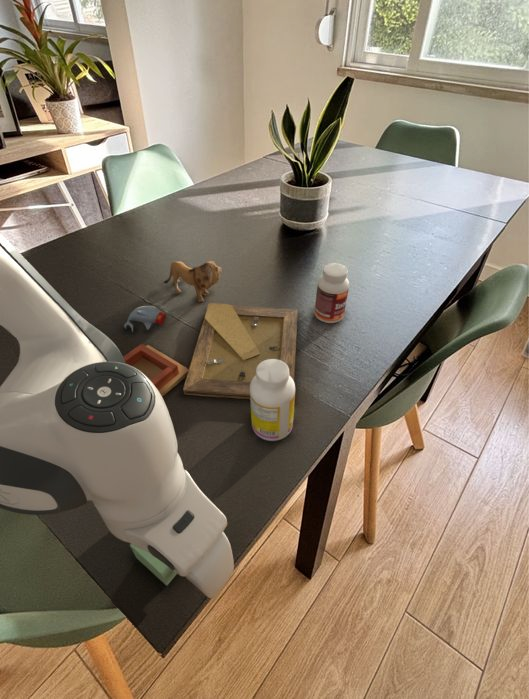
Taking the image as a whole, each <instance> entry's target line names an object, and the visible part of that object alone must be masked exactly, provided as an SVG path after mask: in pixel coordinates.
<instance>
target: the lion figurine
mask: <svg viewBox="0 0 529 699" xmlns="http://www.w3.org/2000/svg"><path fill="white" fill-rule="evenodd" d="M221 273H222V267H220V266H218V265H217V264H216V263H215V261H214V260H213V261H212V260H209V261H206V262H204V263H202V264H201V265H198V266H195V267H193V268H192V267H190V266H187V265H186V264H185V263H184V262H183V261H180V260H179V261H172V263H171V265H170V270H169V276H168V278H167V279H166V280H164V281H163V284H168V283H169V282H170V281H171V280H172V278H173V287H174V291H175V292H174V293H176V295H180V294H181V293H182V290H181V289H180V288H179V285H178V284H180V283H181V280H182V281H183V282H184V283H186V284H187V285H190V286H192V287H194V290H195V294H196V298H197V301H198V302H199V303H203V302H204V301H205V298H203V296H208V295H209V291H208V290H209V289H211V287H212V286H214V285H215V284H217V283H218V282H219V280H220V278H221V276H220V274H221ZM179 278H181V280H180V279H179Z"/></svg>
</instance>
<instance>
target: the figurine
mask: <svg viewBox="0 0 529 699" xmlns="http://www.w3.org/2000/svg"><path fill="white" fill-rule="evenodd" d="M128 315H129V316H128V318H127V321H126V322H125V323H124V325H123V328H125V329H127V326H129V327H130V328H131V329H130V330H131V332H132V333H133V332H134V325H133V323H131V322H130V321H136V322H139V323H143V325H144V326H145V328H146V331H148V330H150V328H151V326H152V324H158V325H160V326H162V325H163V324H164V322H165V320H166V318H167V314H166V313H164V312H162V311H161V310H160V309H159V307H157V306H154V305H142V306H138V307H136V308H135V309H133V310H132V311H131V312H130V313H129V314H128Z"/></svg>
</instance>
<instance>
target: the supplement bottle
mask: <svg viewBox="0 0 529 699" xmlns="http://www.w3.org/2000/svg"><path fill="white" fill-rule="evenodd" d="M295 399H296V383H295V380H294V381H293V379H292V378H291V377H290V376H289V368H288V366H287V365H286V364H285V363H284V362H282V361H280V360H277V359H268V360H265V361H263V362H261V363H260V364H259V365H258V366H257V369H256V376H255V377H254V378H253V379H252V381H251V384H250V399H249V400H250V415H251V416H250V418H251V419H250V420H251V421H250V422H251V427H252V431H253V432H254V433H255V435H256V436H258V437H259V438H260V439H262V440H264V441H268V442H269V441H270V442H276V441H281V440H283V439H284V438H286V437H287V436H288V435H290V433H291V431H292V429H293V427H294V416H295Z"/></svg>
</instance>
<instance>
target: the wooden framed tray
mask: <svg viewBox="0 0 529 699" xmlns="http://www.w3.org/2000/svg"><path fill="white" fill-rule="evenodd" d="M122 356H123V358H124V361H125V363H126V364H127V365H130V366H132V367H134V368H136V369H138V370H139V371H141V372H142V373H143V374H144V375H145V376H146V377H147V378H148V379H149V380H150V381H151V382H152V383H153V384H154V386H155V387H156V388H157V390H158V391H159V393H160V394H161V396H162V398H163V397H164V396H165V395H167V394H168V393H169V392H170V391H171V390H173V388H175V387H176V386H177V385H178V384H179V383H181V382H182V381H183V380H185V379H186V378H187V375H188V371H189V368H188V367H186V366H184V365H182V364H180V363H179V362H178V361H177V360H174V359H173V358H171V357H169V356H167V355H166V354H164V353H163V352H161V351H159V350H157V349H156V348H154V347H153V346H151V345H149V344H147V345H144V344H142V343H140V344H139V345H138V346H136V347H135V348H133V349H132V350H130V351H129V352H127V353H126V354H124V355H122Z"/></svg>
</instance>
